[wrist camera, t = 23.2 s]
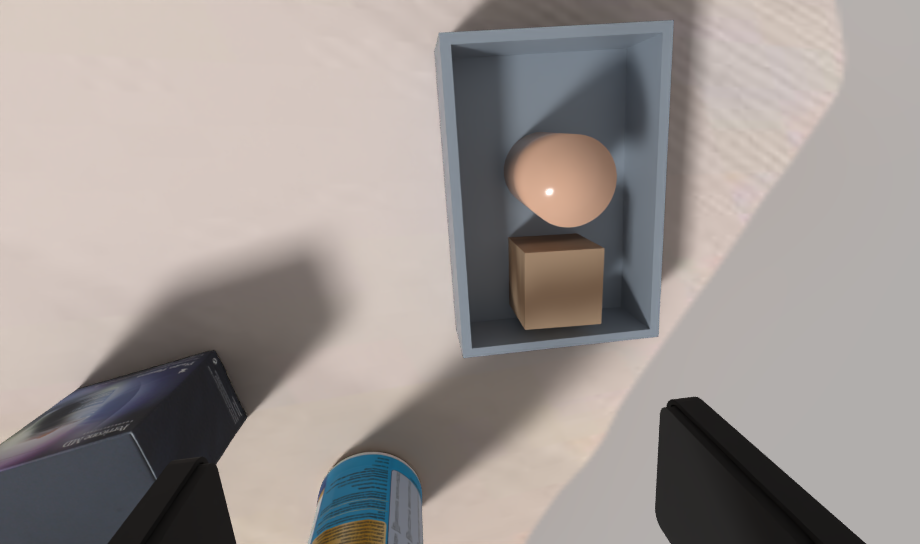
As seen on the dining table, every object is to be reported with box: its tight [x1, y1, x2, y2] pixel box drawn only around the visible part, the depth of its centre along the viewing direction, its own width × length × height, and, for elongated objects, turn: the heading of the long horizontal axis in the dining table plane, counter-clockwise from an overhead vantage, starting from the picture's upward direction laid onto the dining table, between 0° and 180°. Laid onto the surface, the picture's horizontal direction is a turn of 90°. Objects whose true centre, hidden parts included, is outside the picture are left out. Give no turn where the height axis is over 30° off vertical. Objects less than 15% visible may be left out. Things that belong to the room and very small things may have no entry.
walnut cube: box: [508, 233, 605, 330], centre depth 32 cm, size 5×5×5 cm
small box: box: [0, 350, 247, 544], centre depth 29 cm, size 11×6×10 cm, turn 106°
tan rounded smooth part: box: [504, 132, 617, 227], centre depth 29 cm, size 5×5×7 cm
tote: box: [434, 20, 674, 358], centre depth 31 cm, size 19×13×5 cm
